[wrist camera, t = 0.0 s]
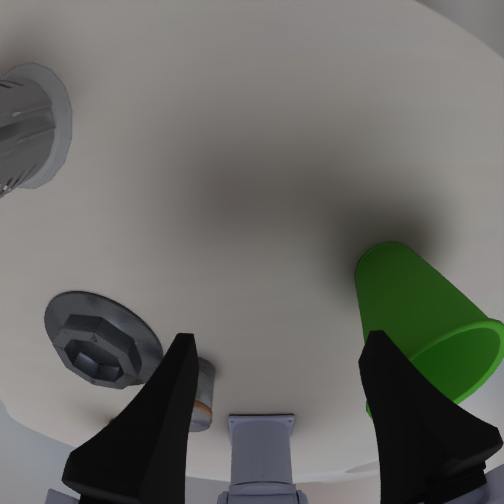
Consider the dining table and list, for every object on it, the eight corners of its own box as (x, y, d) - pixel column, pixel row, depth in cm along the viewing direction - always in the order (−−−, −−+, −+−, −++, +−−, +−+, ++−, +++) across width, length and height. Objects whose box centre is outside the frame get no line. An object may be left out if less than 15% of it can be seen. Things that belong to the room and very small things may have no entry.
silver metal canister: (218, 383, 30) (213, 434, 25) (173, 381, 30) (164, 429, 25) (214, 355, 27) (208, 410, 22) (165, 353, 27) (152, 405, 22)
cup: (397, 320, 25) (440, 422, 16) (309, 300, 24) (335, 426, 14) (451, 238, 21) (530, 332, 11) (362, 198, 19) (444, 308, 10)
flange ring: (174, 387, 30) (170, 406, 28) (73, 373, 30) (66, 389, 28) (147, 295, 24) (139, 316, 21) (28, 287, 23) (16, 303, 21)
